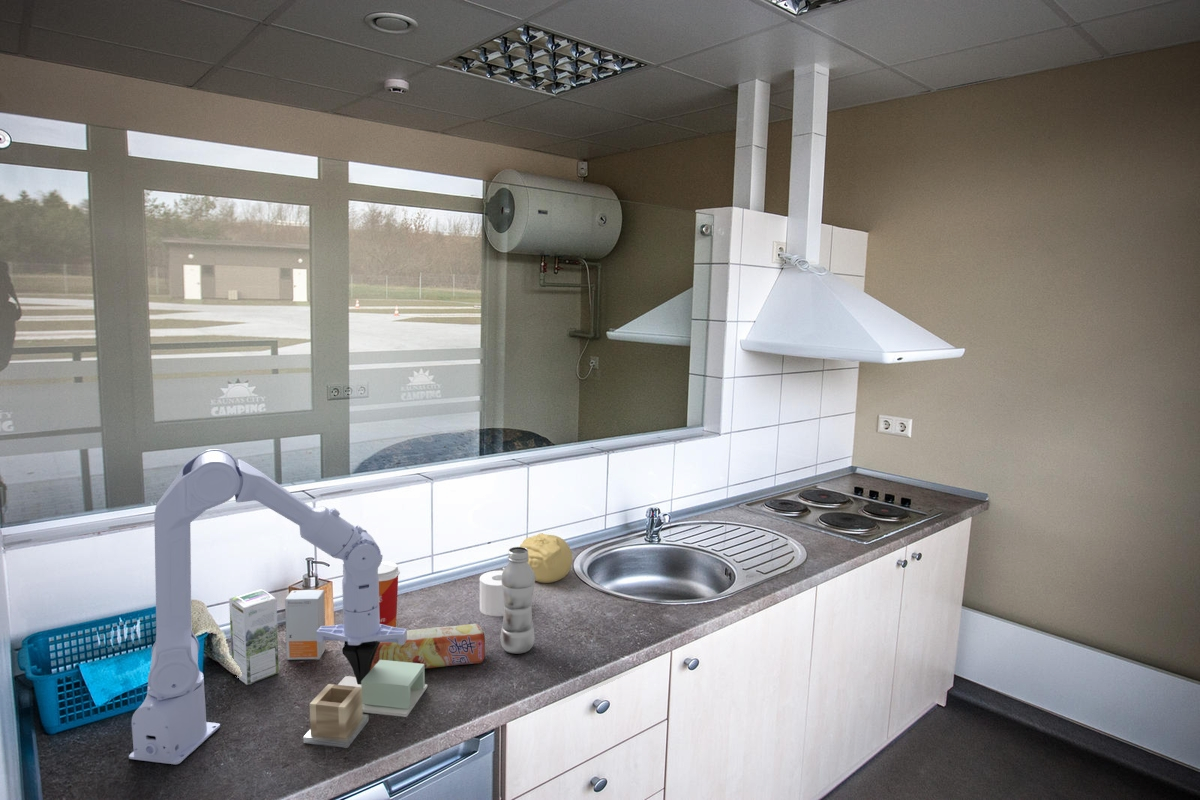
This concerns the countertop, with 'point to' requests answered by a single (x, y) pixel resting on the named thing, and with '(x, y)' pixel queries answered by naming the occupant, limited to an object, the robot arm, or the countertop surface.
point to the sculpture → (548, 557)
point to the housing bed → (414, 697)
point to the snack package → (436, 647)
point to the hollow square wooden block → (336, 710)
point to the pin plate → (337, 740)
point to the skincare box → (304, 624)
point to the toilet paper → (491, 593)
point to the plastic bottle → (517, 602)
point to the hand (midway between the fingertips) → (363, 681)
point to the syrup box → (254, 635)
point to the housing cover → (392, 683)
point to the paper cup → (388, 592)
